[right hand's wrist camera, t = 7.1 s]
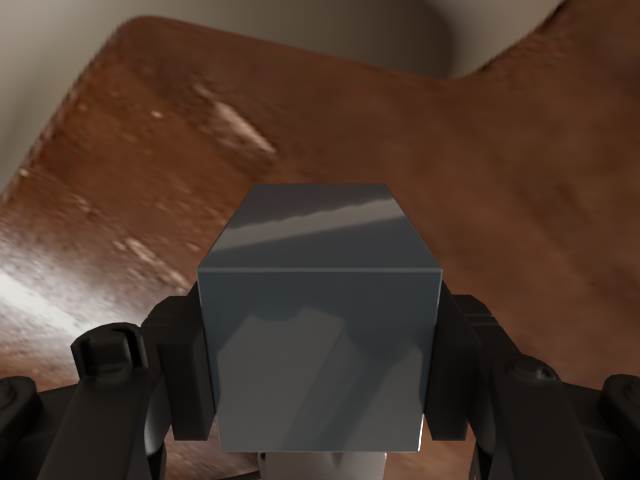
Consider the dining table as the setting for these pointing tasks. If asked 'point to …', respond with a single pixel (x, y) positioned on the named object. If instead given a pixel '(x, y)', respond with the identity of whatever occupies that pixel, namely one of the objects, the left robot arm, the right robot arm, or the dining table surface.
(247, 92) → the dining table surface
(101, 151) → the dining table surface
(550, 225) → the dining table surface
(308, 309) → the block
